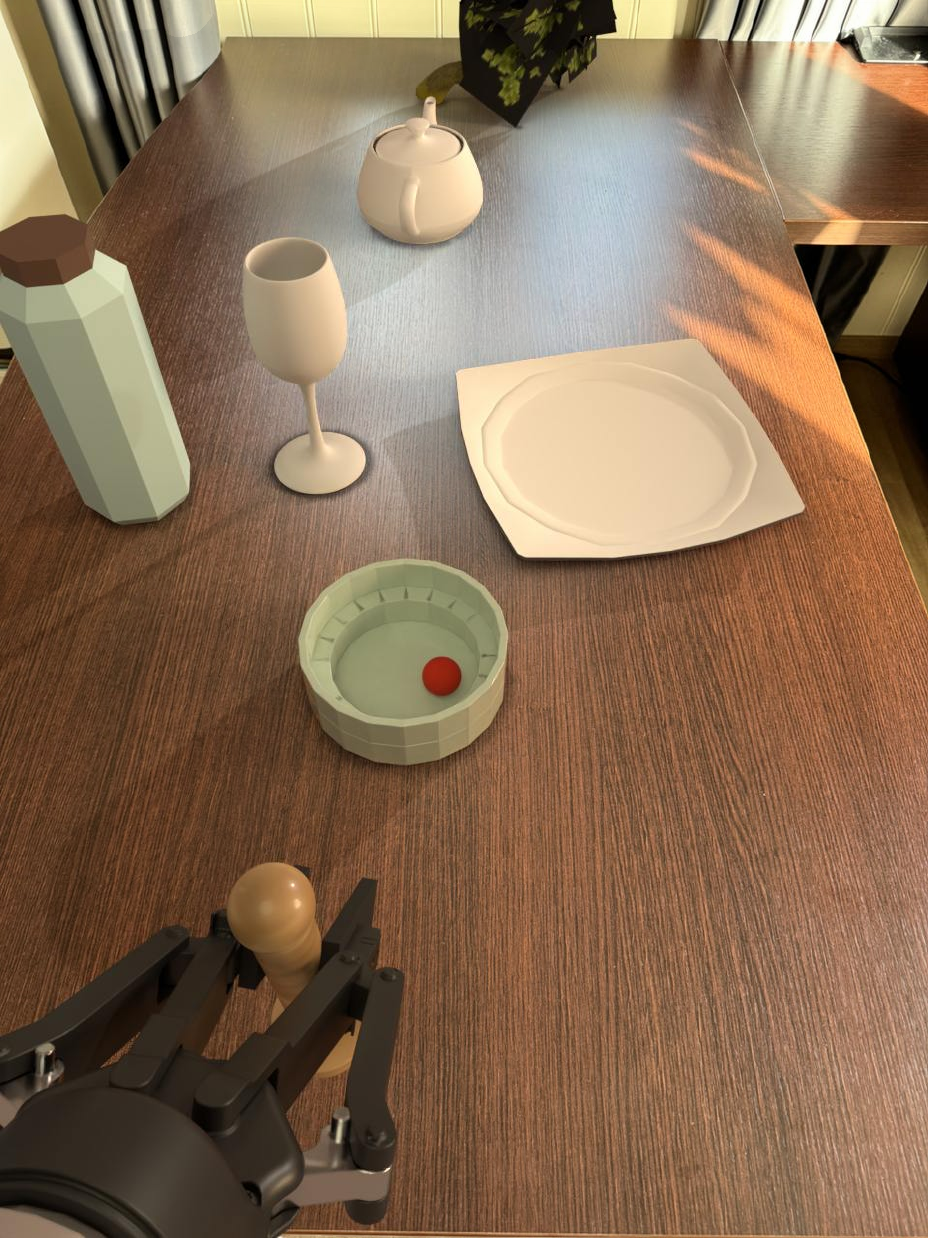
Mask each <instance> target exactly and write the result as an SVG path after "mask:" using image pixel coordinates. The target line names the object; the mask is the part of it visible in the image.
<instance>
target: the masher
mask: <svg viewBox="0 0 928 1238" xmlns="http://www.w3.org/2000/svg"><path fill="white" fill-rule="evenodd" d="M226 909H227V919H228V924H229V926H230V929H231V931H232V933H233V935H234V936H235V937H236V939H237V940H238V941H239V942H240V943H241V944H242V945H243V946H245V947H246V948H248V949H250V950H252V951H253V953H254V955H255V957H256V958H257V960H258V962H259V964H260V966H261V968H262V969H263V971H264V973H265V977H266V979H267V980H268V982H269V984H270V986H271V988H272V990H273V991H274V993H275V995H276V999H275V1001H274V1004H273V1005H272V1006H273V1007H272V1008H271V1009H272V1010H271V1013H270V1019H269V1021H270V1022H269V1027H270V1026H271V1025H272V1023H273V1022H274V1021H275V1020H276V1019H277V1018H278V1017H279V1016H280V1014H281V1013H282V1012H283V1011H284V1010H285V1009H286V1008H287V1007H288V1006H289V1004H290V1003H291V1002H292V1001H293V1000H294V999H295V998H296V997H297V996H298V994H299V993H300V992H301V991H302V990H303V989H304V988H305V987H306V986H307V984H308V983H309V982H310V981H311V980H312V979H313V978H314V977H315V976H316V974H317V973H318V971H319V962H320V958H321V946H322V940H323V938H322V934H321V932H320V929H319V926H318V923H317V920H316V918H315V917H316V911H317V910H316V909H317V899H316V894H315V890H314V888H313V886H312V884H311V882H310V879H309V880H308V879H307V878H306V876H305V875H304V874H303V873H302V872H300V871H299V870H298V869H296V868H295V867H294V866H293V865H291V864H288V863H285V862H281V861H280V862H279V861H278V862H277V861H271V862H270V861H269V862H263V863H261V864H257V865H256V866H253V867H251V868H250V869H248V870H247V871H245V872H244V873H243V874H242V875H240V877H239V878H238V879H237V880H236V882H235V883H234V885H233V886H232V888H231V890H230V893H229V895H228V898H227V903H226ZM360 1026H361V1022H360V1021H358V1020H356V1024H355V1032H354V1036H351V1032H348V1033H347V1034H344V1035H343V1037H342V1038H341V1039H340V1041H339V1042H338V1043H337V1045H336V1046H335V1047H334V1049H333V1050H332V1052H331V1053H330V1054H329V1056H328V1057H327V1058H326V1060H325V1061H324V1062H323V1064H322V1065H321V1066H320V1068H319V1069H318V1071H317V1072H316V1073H315V1075H314V1076H313V1077H312V1079H327V1078H332V1077H336V1076H337V1075H341V1074H342V1073H343V1072H345V1071H348V1070H350V1066H351V1062H352V1058H353V1054H354V1050H355V1046H356V1042H357V1038H358V1034H359V1030H360Z"/></svg>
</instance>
